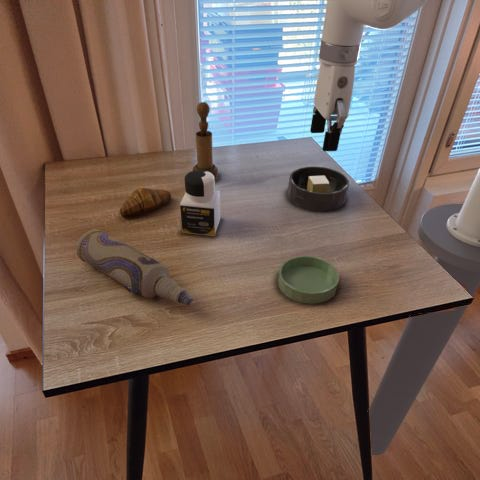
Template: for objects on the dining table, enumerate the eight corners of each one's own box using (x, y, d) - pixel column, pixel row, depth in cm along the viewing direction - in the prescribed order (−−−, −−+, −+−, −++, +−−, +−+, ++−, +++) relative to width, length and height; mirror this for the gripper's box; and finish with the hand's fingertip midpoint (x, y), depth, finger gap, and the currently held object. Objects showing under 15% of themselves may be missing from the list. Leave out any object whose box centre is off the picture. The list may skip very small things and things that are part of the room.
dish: (326, 264, 83) (328, 253, 81) (344, 301, 75) (347, 290, 74) (272, 268, 82) (273, 258, 80) (285, 306, 74) (286, 295, 72)
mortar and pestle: (188, 180, 107) (183, 104, 94) (199, 169, 111) (196, 96, 98) (211, 185, 105) (209, 109, 92) (222, 174, 109) (222, 100, 97)
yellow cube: (322, 190, 103) (324, 175, 101) (326, 198, 101) (329, 183, 98) (306, 191, 103) (308, 176, 100) (310, 199, 100) (313, 184, 97)
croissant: (161, 193, 101) (159, 173, 98) (178, 204, 98) (177, 184, 95) (113, 212, 95) (108, 192, 91) (129, 224, 91) (126, 204, 88)
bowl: (334, 182, 108) (338, 165, 105) (353, 210, 98) (357, 192, 95) (282, 184, 106) (283, 167, 103) (295, 213, 96) (297, 195, 93)
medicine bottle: (182, 233, 89) (177, 181, 81) (189, 216, 94) (186, 165, 86) (214, 237, 89) (213, 184, 80) (220, 219, 94) (220, 168, 85)
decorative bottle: (78, 267, 80) (69, 238, 76) (109, 250, 85) (102, 221, 80) (175, 328, 69) (171, 298, 65) (204, 305, 74) (203, 275, 69)
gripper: (373, 65, 75) (351, 157, 88) (343, 41, 87) (327, 126, 99) (334, 65, 74) (317, 158, 87) (308, 41, 86) (297, 126, 98)
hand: (323, 141), depth 93 cm, fingers open, 9 cm apart
